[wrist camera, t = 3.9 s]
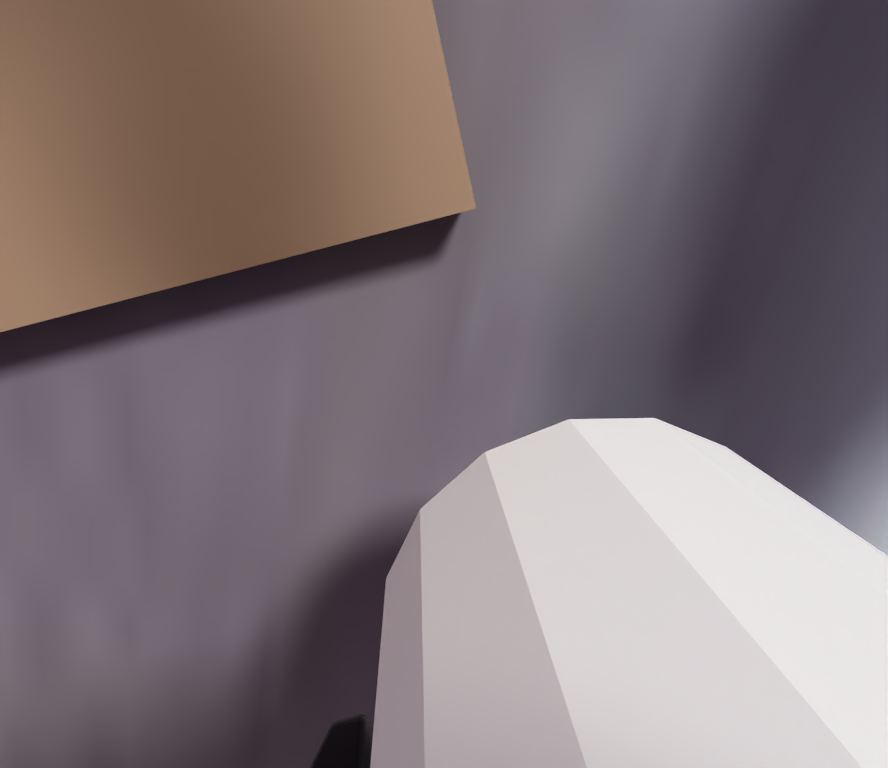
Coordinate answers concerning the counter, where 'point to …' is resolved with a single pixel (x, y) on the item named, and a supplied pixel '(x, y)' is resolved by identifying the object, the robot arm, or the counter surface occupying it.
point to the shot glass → (630, 614)
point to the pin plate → (210, 140)
